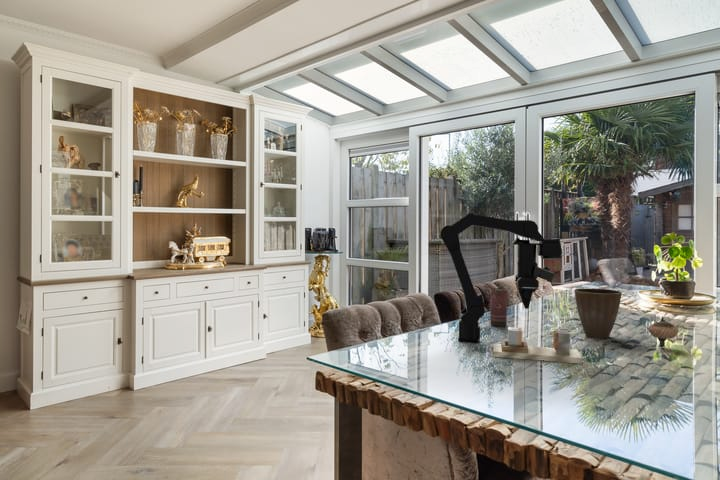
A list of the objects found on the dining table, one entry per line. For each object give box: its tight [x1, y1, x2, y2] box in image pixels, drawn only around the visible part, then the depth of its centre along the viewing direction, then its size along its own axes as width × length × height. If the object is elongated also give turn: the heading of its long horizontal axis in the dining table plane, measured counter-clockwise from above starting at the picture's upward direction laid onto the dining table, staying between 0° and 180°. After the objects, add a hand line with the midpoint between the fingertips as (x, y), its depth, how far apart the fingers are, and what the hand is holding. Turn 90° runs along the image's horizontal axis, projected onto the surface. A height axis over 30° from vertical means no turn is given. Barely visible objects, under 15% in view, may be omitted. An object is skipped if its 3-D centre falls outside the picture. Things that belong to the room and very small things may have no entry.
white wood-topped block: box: [507, 326, 523, 347], centre depth 145 cm, size 4×5×6 cm
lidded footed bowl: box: [647, 316, 679, 349], centre depth 155 cm, size 8×8×10 cm
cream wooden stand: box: [492, 329, 584, 364], centre depth 144 cm, size 24×10×8 cm, turn 75°
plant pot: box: [573, 288, 622, 339], centre depth 171 cm, size 15×15×16 cm
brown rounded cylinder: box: [489, 288, 509, 327], centre depth 189 cm, size 6×6×14 cm
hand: (525, 306), depth 159 cm, fingers open, 9 cm apart
